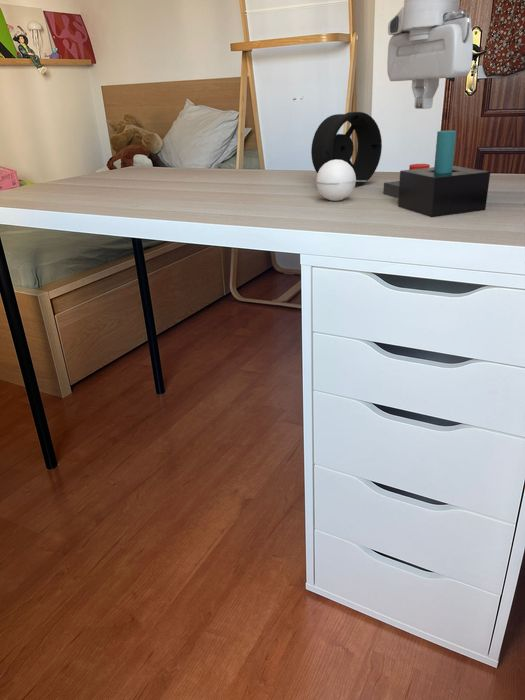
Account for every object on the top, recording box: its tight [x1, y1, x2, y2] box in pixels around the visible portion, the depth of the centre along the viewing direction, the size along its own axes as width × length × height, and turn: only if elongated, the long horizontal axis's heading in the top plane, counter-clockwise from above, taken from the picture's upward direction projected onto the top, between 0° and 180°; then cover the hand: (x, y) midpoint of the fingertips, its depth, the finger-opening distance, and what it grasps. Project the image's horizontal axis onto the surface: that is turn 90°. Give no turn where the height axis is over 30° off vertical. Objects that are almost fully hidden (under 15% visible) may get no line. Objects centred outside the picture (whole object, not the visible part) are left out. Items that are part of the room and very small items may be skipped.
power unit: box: [382, 180, 400, 199], centre depth 99 cm, size 10×8×4 cm
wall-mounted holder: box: [310, 111, 383, 188], centre depth 111 cm, size 14×14×10 cm
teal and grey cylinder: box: [433, 130, 457, 174], centre depth 85 cm, size 3×3×12 cm
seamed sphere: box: [315, 160, 356, 202], centre depth 96 cm, size 10×7×7 cm
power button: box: [408, 163, 431, 170], centre depth 98 cm, size 4×4×2 cm
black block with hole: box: [397, 165, 491, 218], centre depth 86 cm, size 10×10×6 cm
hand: (423, 108), depth 94 cm, fingers closed
